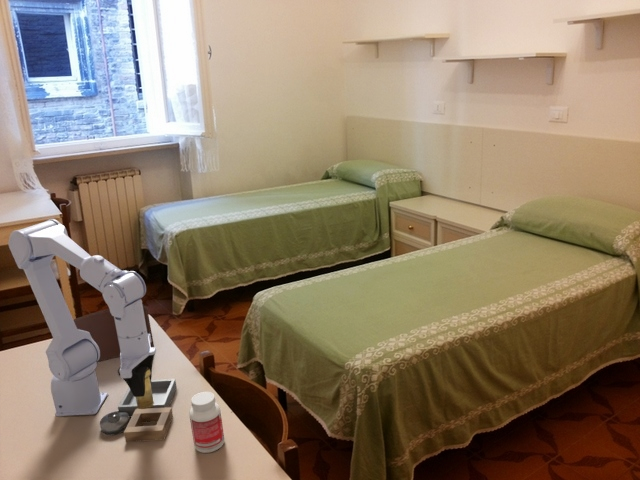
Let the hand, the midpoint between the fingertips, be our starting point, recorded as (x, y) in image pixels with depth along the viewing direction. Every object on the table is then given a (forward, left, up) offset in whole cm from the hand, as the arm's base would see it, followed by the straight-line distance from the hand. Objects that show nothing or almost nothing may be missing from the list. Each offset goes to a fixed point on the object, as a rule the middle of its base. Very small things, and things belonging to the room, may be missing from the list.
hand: (142, 389), depth 119 cm
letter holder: (-20, +36, -10) cm, 42 cm away
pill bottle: (+14, -6, -10) cm, 18 cm away
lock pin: (0, 0, -4) cm, 4 cm away
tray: (-3, +10, -10) cm, 14 cm away
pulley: (-8, +1, -10) cm, 13 cm away
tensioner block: (0, 0, -10) cm, 10 cm away
